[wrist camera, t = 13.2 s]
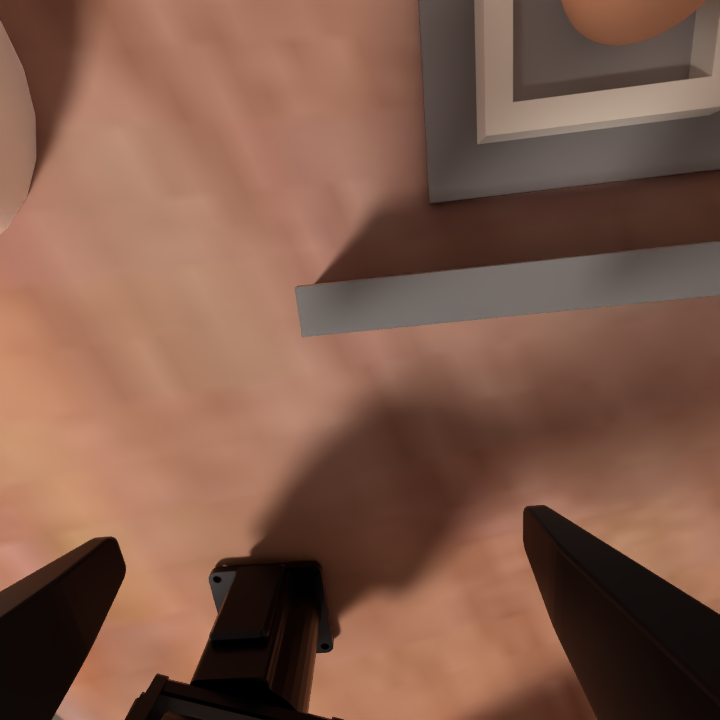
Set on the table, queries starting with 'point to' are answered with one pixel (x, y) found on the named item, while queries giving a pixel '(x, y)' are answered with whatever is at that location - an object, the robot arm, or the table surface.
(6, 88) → the honey pot
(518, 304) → the gray fence
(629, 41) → the ball
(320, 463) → the table surface
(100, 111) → the table surface
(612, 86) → the mat
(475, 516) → the table surface
